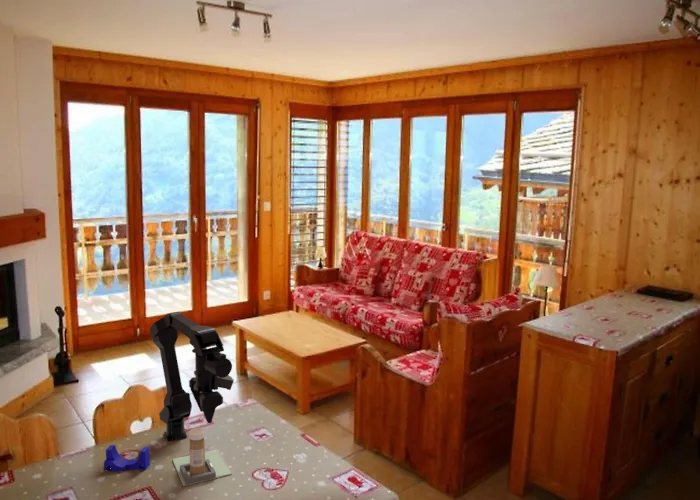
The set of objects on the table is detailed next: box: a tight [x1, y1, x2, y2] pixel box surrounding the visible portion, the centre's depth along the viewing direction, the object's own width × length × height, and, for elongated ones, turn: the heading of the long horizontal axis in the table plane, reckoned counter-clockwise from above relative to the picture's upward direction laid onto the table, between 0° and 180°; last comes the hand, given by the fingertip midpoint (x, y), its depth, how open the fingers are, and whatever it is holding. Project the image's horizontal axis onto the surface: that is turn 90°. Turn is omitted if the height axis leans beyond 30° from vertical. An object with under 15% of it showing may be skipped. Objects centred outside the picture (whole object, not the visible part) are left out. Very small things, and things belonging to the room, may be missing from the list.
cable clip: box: [103, 444, 151, 473], centre depth 167 cm, size 12×4×6 cm, turn 87°
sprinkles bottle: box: [188, 427, 206, 476], centre depth 164 cm, size 5×5×14 cm
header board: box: [172, 449, 232, 487], centre depth 169 cm, size 16×14×2 cm
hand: (205, 416), depth 174 cm, fingers open, 9 cm apart
